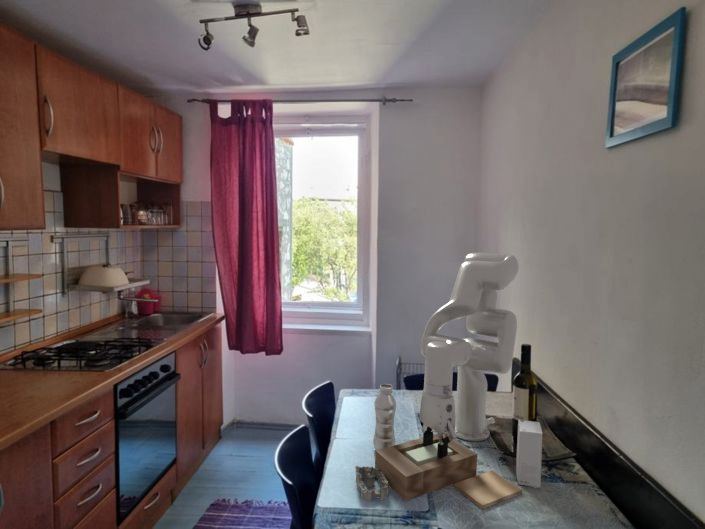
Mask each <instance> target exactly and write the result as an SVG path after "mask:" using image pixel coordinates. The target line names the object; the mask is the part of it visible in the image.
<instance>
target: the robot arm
mask: <svg viewBox="0 0 705 529" xmlns="http://www.w3.org/2000/svg"><path fill="white" fill-rule="evenodd" d="M518 272H519V261H518V259H517V257H516V256H515V255H513V254H509V253H508V254H506V253H490V252H471V253H468V254H467V255H465V257H464V259H463V262H462V263H461V265H460V267H459V269H458V272H457V275H456V279H455V281H454V286H453V288H452V291H451V294H450V298H449V301H448V302H447V303H445V304H444V305H443V306H440V307H439V309H437V310H436V311H435V312H434V313H433V314H432V315H431V317H429V319H428V321H427V323H426V325H425V328H424V331H423V333H422V334H423V335H422V337H421V342H420V354H421V355H422V356H423V357H424V358H425V359H424V376H423V377H424V378H423V380H424V382H423V390H422V395H421V400H420V408H419V409H420V410H419V412H418V413H417V418H418V421H419V423H420V424H419V425H421V431H422V432H421V433H423V434H422V438H423V447H425V446H429V445H432V444H433V435H434V432H436V433H437V434H438V437H439V443H438V447H437V457H438V458H442V457H446V456H447V455H448V443H450V441H452V440H453V439H454V440H456V439H457V438H458V439H461V440H465V441H470V442H482V441H485V440H487V439H488V438H490V429H489V428H488V426H489V425H491V424H495V422H496V420H495V418H494V417H493V416H492V417H489V418H488V417H486V415H487V414H486V412H487V396H488V394H487V393H488V380H487V378H486V375H485V373H484V372H489V373H493V374H499V375H505V374H508V372H510V370H511V368H512V364H513V357H514V351H515V344H516V337H517V331H518V330H517V328H518V321H517V316H516V315H515V313H514V312H513V311H511V310H508V309H501V308H496V306H497V301H498V300H497V299H498V292H497V291H502V290H504V289H505V288H507V287H508V286H509V285H510V284H511V283H512V282H513V281H514V280H515V278H516V277H517V275H518ZM462 318H466V322H465V328H466V330H467V332H469V333H470V334H473V335H476V336H481V337H488V338H493V339H498V342H497V341H489V340H486V339H480V338H474V337H473V338H472V337H464V338H459V337H455V336H454V337H453V336H448V335H443V334H439V332H440V330H441V329H442V327H443V326H445V325H446V324H448V323H450V322H452V321H455V320H459V319H462ZM455 367H457V382H456V384H457V385H456V402H455V398H454V395H453V394H454V391H453V375H454V374H453V372H454V370H453V369H454V368H455ZM483 371H484V372H483ZM443 434H445V438H444V439H443Z"/></svg>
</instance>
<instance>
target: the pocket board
mask: <svg viewBox="0 0 705 529" xmlns="http://www.w3.org/2000/svg"><path fill="white" fill-rule="evenodd" d="M444 438H445V434H443V439H444ZM435 443H439V437H438V433H436V434H433V444H435ZM421 447H423V437H421V438H417V439H412V440H410V441H405V442H403V443H399V444H395V445H394V446H390V447H387V448H383V449H379V450H376V449H375V451H374V452H375V454H374V457H375V458H374V468H377V467H378V468H379V469H380V471H381V472H382V473H383V474H384V475H385V478H386V479H387V481H388V486H390V487H391V488H390V487H389V488H390V489H391V490H392V491H393V492H395V493H396V494H397V496H398V497H400V498H401V499H402V500H403V501H404V502H407V501H411V500H412V499H417V498H419V497H421V496H422V497H423V496H424V495H429V494H430V493H433V492H436V491H439V490H442V489H444V488H447V487H451V486H454V483H457V482H460V481H463V480H466V479H469V478H472V477H474V476H477V472H478V471H477V467H478V453H477V452H475V451H474V450H472V449H470V448H469V447H467V446H466V445H464V444H462V443H461V442H459V441H458V440H456V439H453V440H452V441H450V443H448V448H449V449H450V450H452V451H453V455H452V456H449V457H446V458H443V459H440V460H436V461H433V462H430V463H427V464H423V465H420V466H417V465H415V464H414V463H413V462H412V461H410V460H409V459H408V458H407V457H405V455H406V452H407V451H411V450H414V449H418V448H421Z"/></svg>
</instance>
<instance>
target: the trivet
mask: <svg viewBox="0 0 705 529" xmlns="http://www.w3.org/2000/svg"><path fill="white" fill-rule="evenodd" d="M453 488H454V489H456V490H457V491H458V492H459V493H461V494H462V495H463V496H464V497H465V498H467V499H469V500H470V502H472V503H473V504H475V505H476V506H477V507H479V508H480V509H482V510H484V509H486V508H489V507H492V506H494V505H496V504H499V503H502V502H504V501H507V500H509V499H511V498H514V497H516V496H519V495H520V494H522V493H523V489H522V488H520V487H519V486H517V485H515V484H514V483H512V482H511V481H509V480H508V479H507V478H505V477H503V476H502V475H500V474H499V473H497V472H496V471H494V470H489V471H486V472H484V473H480V474H476V476H474V477H472V478H469V479H466V480H463V481H460V482H457V483H454V484H453Z"/></svg>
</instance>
